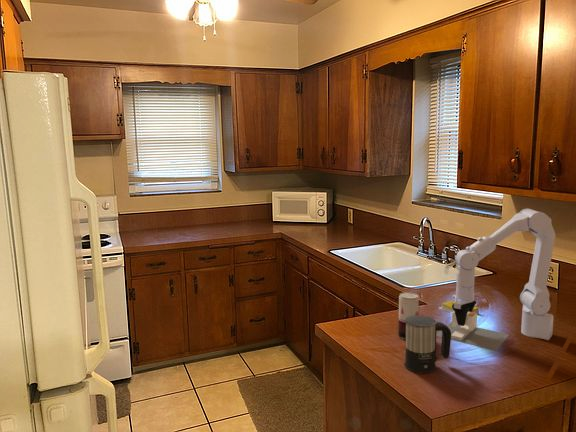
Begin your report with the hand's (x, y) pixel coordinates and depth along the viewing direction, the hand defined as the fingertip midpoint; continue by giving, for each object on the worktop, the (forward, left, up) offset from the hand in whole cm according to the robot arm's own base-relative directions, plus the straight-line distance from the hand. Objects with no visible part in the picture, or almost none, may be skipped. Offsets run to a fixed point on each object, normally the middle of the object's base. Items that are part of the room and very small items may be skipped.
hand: (463, 322), depth 163 cm
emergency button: (+9, -22, -6) cm, 25 cm away
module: (0, 0, -1) cm, 1 cm away
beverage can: (+15, +12, -5) cm, 20 cm away
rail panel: (-3, 0, -5) cm, 6 cm away
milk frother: (+4, +27, -5) cm, 28 cm away
